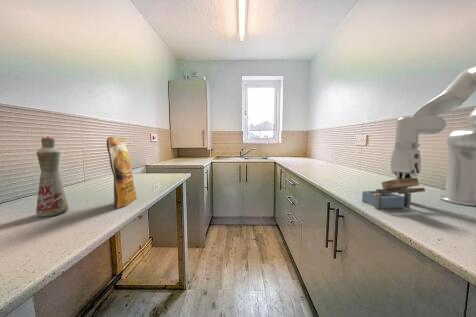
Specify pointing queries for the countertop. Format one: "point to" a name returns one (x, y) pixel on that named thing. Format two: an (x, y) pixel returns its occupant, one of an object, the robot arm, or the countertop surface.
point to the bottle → (50, 181)
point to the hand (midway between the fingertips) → (402, 188)
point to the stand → (379, 199)
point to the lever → (400, 186)
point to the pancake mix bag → (121, 172)
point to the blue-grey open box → (384, 199)
